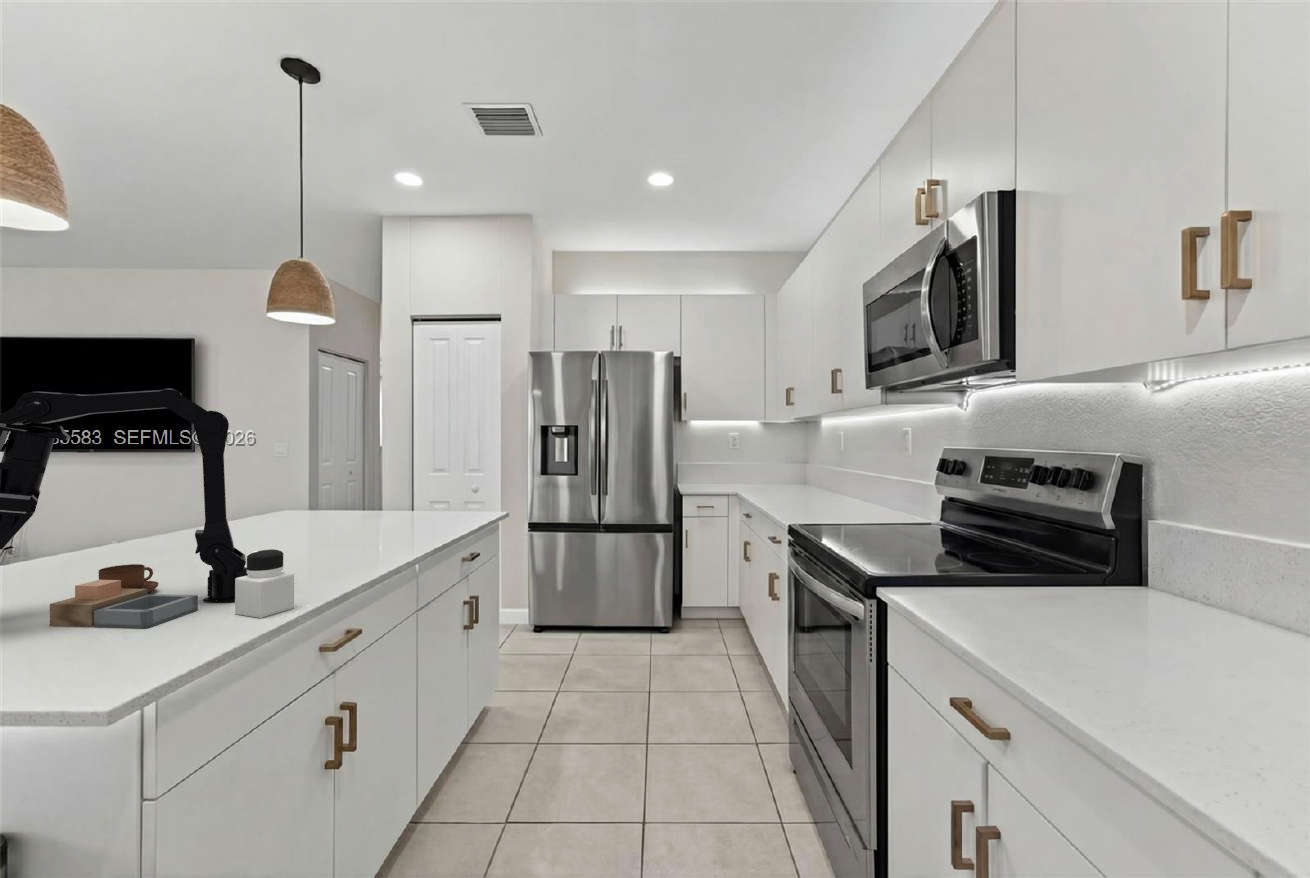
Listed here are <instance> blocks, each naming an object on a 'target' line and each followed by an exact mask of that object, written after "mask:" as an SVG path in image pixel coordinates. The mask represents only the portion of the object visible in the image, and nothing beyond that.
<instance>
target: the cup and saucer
mask: <svg viewBox="0 0 1310 878" xmlns="http://www.w3.org/2000/svg"><path fill="white" fill-rule="evenodd" d="M145 571H148V572H149V574H148V575H147V577H145ZM153 575H154V571H153V568H151V567H149V566H145V565H144V564H139V563H137V564H134V563H132V564H120V565H114V566H108V567H103V568H100V569H99V570H98V580H121V588H129V589H148V593H151V592H152V591H154V590H155V589H157V587H159V582H158V581H154V580H151V578H152V577H153Z"/></svg>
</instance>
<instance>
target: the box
mask: <svg viewBox="0 0 1310 878" xmlns="http://www.w3.org/2000/svg"><path fill="white" fill-rule="evenodd" d="M198 601H199V595H197V594H167V593H166V594H162V593H161V594H160V593H159V594H158V593H148V595H145V596H142V597H138V598H135V599H131V600H128V601H125V602H121V603H118V604H115V605H111V606H108V607H104V608H101V609H98V610H94V626H93V627H94V628H106V629H107V628H111V629H112V628H113V629H117V628H118V629H142V630H143V629H144V630H145V629H150V628H153V627H155V626H158V625H161V624H163V623H167V622H169V621H172V620H175V619H177V618H180V617H183V616H186V615H188V614H191V613H194V612H197V611H198V610H199V602H198Z"/></svg>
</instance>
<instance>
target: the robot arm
mask: <svg viewBox="0 0 1310 878" xmlns="http://www.w3.org/2000/svg"><path fill="white" fill-rule="evenodd" d="M158 409H168V410H169V411H171V412H173V413H174V414H176V415H178V416H179V417H181V418H183V419H184V420H185V421H187V422H189V423H191V424H193V427H194V432H195V435H196V439H197V443H198V446H199V449H200V453H201V457H202V472H203V473H202V477H203V479H202V480H203V481H202V482H203V496H204V497H203V500H204V501H203V502H204V526H203V529H196V530H195V532H194V536H195V537H194V538H195V542H196V545H197V546H196V550H195V552H194V553H195V554H199V558H200V560H201V562H203V563H204V564H206V565H208V566H210V567H211V569H210V570H208V577H207V597H205V598H202V602H212V603H213V602H214V603H215V602H216V603H233V602H235V579H236V578H238V577H243V576H247V575H249V574H247V567H245V566H246V565H247V557H246V555H245V553H243V552H242V551H240V550H239V549H238V548H236V547H235V546H234V545H235V544H234V540H233V536H232V532H231V529H230V525H229V522H228V518H227V505H226V504H227V502H226V499H227V498H226V481H225V480H226V478H225V477H226V476H225V457H224V456H225V448H226V444H227V439H228V433H229V428H230V423H229V420H228V418H227V416H225V415H224V414H223V413H222V412H219V411H217V410H206V409H205V408H203V407H202V406H200V405H198V404H197V403H195V402H193V400H190V399H188V398H187V397H186V396H184V395H182V393H181V392H179V391H178V390H177V389H174V388H169V387H167V388H163V389H159V390H142V391H127V392H126V391H125V392H124V391H123V392H111V393H108V392H107V393H95V394H94V393H93V394H79V393H67V392H50V391H29V392H25V393H24V394H22V395H21V396H19V398H17V400H16V401H15V404H14V406H13V407H11V408H9V409H8V410H6V411H4V412H2V413H1V414H0V450H2V448H3V447H4V445H5V448H4V452H3V454H2V458H1V461H0V550H2V549H4V548H5V547H6V546H7V544H8V543H9V542H10V541H11V540H12V539H13V538H14V536H15V535H16V534H17V533H18V532H19V531H20V530H21V528H23V527H24V526H25V525H26V523H27V522H28V521H29V520H30V519H31V518H32V517H33V515H34V514H35V512H36V509H37V506H38V503H39V498H40V495H41V490H40V489H41V487H42V482H43V479H44V475H45V473H46V468H47V466H48V463H49V459H50V457H51V452H52V449H53V446H54V442H55V440H56V439H57V440H70V439H71V435H69V434H68V432H66V430H65V429H64V427H63V426H62V425H57V426H55V427H53V428H49V427H44V426H36V425H30V426H29V427H28V428H27V429H26V430H25V429H19V428H12V427H6V426H7V425H15V426H23V425H27V424H30V423H32V424H52V423H57V422H63V421H66V420H72V419H76V418H80V417H84V416H89V415H93V414H105V413H107V414H108V413H119V412H121V413H122V412H133V411H144V410H158ZM8 433H9V434H8ZM7 436H8V439H7ZM6 439H7V442H6ZM5 443H6V444H5Z"/></svg>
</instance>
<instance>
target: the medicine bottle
mask: <svg viewBox="0 0 1310 878" xmlns="http://www.w3.org/2000/svg"><path fill="white" fill-rule="evenodd" d="M246 568H247V574H248V575H247V576H243V577H238V578H236V579H235V601H234V613H235V615H238V616H244V617H250V618H251V617H252V618H257V619H262V618H267V617H270V616H272V615H277V614H279V613H282V612H285V611H290V610H292V609H294V607H295V573H293V572H286V571H285V572H284V571H283V570H284V552H283V551H282V550H278V549H273V548H272V549H270V548H269V549H259V550H255V551H252V552H250V553H248V554H247V556H246Z"/></svg>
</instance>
